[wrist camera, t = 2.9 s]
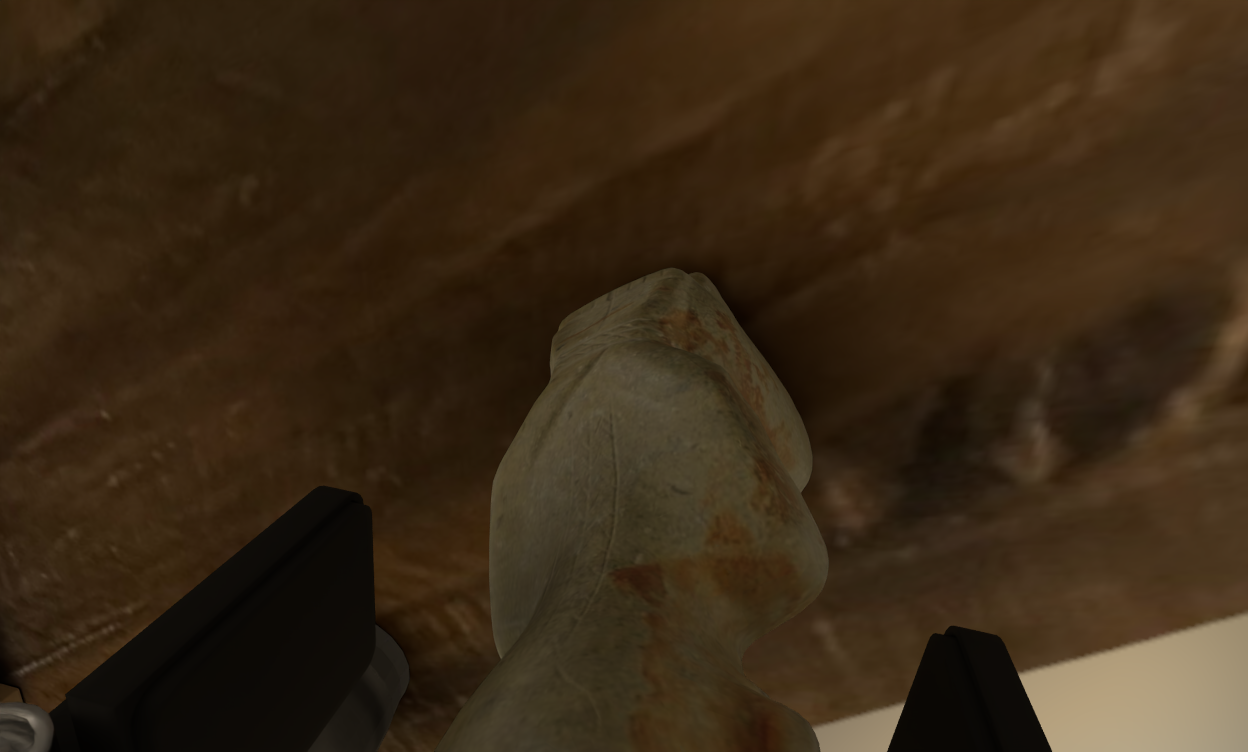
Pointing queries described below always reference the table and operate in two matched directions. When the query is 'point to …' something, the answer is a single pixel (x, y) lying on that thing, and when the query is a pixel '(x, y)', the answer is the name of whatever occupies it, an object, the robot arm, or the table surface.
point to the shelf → (9, 694)
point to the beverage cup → (368, 702)
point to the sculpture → (646, 538)
